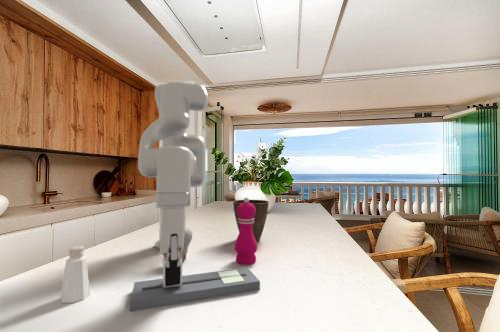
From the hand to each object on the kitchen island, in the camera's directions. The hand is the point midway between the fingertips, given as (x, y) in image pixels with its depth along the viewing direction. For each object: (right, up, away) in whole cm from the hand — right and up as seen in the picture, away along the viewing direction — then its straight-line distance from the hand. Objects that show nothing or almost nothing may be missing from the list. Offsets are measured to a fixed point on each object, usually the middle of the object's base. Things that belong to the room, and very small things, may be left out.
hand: (172, 279), depth 56 cm
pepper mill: (+16, -4, +21) cm, 27 cm away
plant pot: (+18, -5, +46) cm, 50 cm away
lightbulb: (-3, -4, +20) cm, 21 cm away
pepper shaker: (-21, -3, -2) cm, 21 cm away
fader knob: (0, -1, 0) cm, 1 cm away
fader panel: (+5, -3, +2) cm, 7 cm away
